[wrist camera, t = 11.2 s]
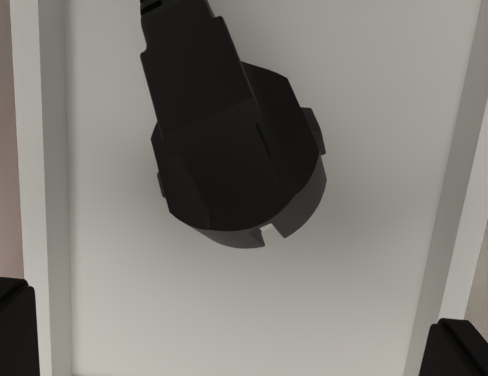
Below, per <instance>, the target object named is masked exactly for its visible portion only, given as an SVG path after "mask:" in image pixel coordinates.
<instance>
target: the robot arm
mask: <svg viewBox="0 0 488 376" xmlns="http://www.w3.org/2000/svg"><path fill="white" fill-rule="evenodd" d="M0 376H40V364H39V348H38V331H37V315H36V299H35V290H34V288H33V287H32V286H29V284H28V282H27V281H26V280H25V279H16V278H6V277H0ZM418 376H488V343H487V342H486V340H485V339H484V338H483V337H482V336H481V334H480V333H479V332H478V331H477V330H476V328H475V327H474V326H473V325H472V324H471V323H470V322H469V321H468V320H460V319H449V318H441V319H439V321H438V322H437V324H435V323H434V324H432V325H431V326H430V329H429V333H428V337H427V341H426V346H425V350H424V354H423V358H422V363H421V367H420V371H419V375H418Z"/></svg>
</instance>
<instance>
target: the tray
mask: <svg viewBox="0 0 488 376" xmlns="http://www.w3.org/2000/svg"><path fill="white" fill-rule="evenodd" d="M208 2H209V5H210V7H211V9H212V11H213V13H214V15H215V17H218V16H222V17H223V18H224V20H225V23H226V25H227V28H228V30H229V33H230V35H231V38H232V40H233V43H234V45H235V48H236V50H237V53H238V56H239V58H240V61H243V62H245V63H248V64H252V65H255V66H259V67H262V68H265V69H268V70H271V71H274V72H276V73H278V74H280V75H283V76H284V77H286V78H288V80H289V83H290V85H291V87H292V89H293V92H294V94H295V96H296V98H297V101H298V103H299V105H300V107H307V108H311V109H312V110H313V113H314V115H315V117H316V119H317V121H318V124H319V126H320V128H321V131H322V136H323V140H324V145H325V150H326V154H324V155H322V156H321V158H322V162H323V166H324V170H325V174H326V178H327V182H326V187H325V191H324V193H323V196H322V199H321V201H320V203H319V205H318V207H317V209H316V210H315V212H314V213H313V215H312V216H311V217H310V218H309V220H308V221H307V222H306V223H305V224H304V225H303V226H302V227H301V228H300V229H298V230H297V231H296V232H295V233H293V234H292V235H290V236H288V237H287V238H283V237H282V236H281V234H280V233H279V232H278V231H277V230H276V229H275V227H272V228H270V229H267V230H265V231H262V232H261V234H262V237H263V240H264V243H265V246H264V247H259V248H250V249H241V248H233V247H228V246H225V245H222V244H219V243H217V242H215V241H213V240H211V239H209V238H208V237H206V236H205V235H203V234H201V233H200V232H198V231H196V230H195V229H193V228H191V227H190V226H188V225H186V224H185V223H183V222H181V221H180V220H178V219H177V218H176V217H174V216H173V215H172V214H171V213H169V209H168V205H167V201H166V199H165V198H164V197H162V194H161V190H160V186H159V182H158V178H157V173H158V171H159V170H158V166H157V162H156V158H155V154H154V151H153V147H152V143H151V136H152V133H153V130H154V128H155V125H156V123H157V118H156V114H155V110H154V107H153V103H152V99H151V96H150V92H149V88H148V85H147V81H146V77H145V74H144V70H143V67H142V63H141V59H140V54H141V53H142V52H144V51H145V50H146V41H145V38H144V34H143V31H142V27H141V14H140V5H141V3H140V0H10V14H11V33H12V52H13V71H14V90H15V109H16V128H17V147H18V166H19V185H20V204H21V223H22V242H23V261H24V279H25V280H26V281H27V282H28V284H29V286H32V287H33V288H34V290H35V299H36V315H37V331H38V348H39V364H40V376H418V375H419V371H420V367H421V363H422V358H423V354H424V350H425V346H426V341H427V337H428V333H429V329H430V326H431V325H432V324H434V323H435V324H437V322H438V321H439V319H441V318H449V319H460V320H463V319H464V315H465V311H466V307H467V303H468V299H469V294H470V290H471V286H472V282H473V278H474V274H475V269H476V265H477V261H478V257H479V253H480V249H481V245H482V240H483V236H484V232H485V228H486V224H487V220H488V0H208Z"/></svg>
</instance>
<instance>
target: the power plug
mask: <svg viewBox="0 0 488 376" xmlns="http://www.w3.org/2000/svg"><path fill="white" fill-rule="evenodd" d="M140 3H141V5H140V14H141V27H142V31H143V34H144V38H145V41H146V50H145V51H144V52H142V53H141V54H140V59H141V63H142V67H143V70H144V74H145V77H146V81H147V85H148V88H149V92H150V96H151V99H152V103H153V107H154V110H155V114H156V118H157V123H156V125H155V128H154V130H153V133H152V136H151V143H152V147H153V151H154V154H155V158H156V162H157V166H158V170H159V171H158V173H157V178H158V182H159V186H160V190H161V194H162V197H164V198H165V199H166V201H167V205H168V209H169V213H171V214H172V215H173V216H174V217H176V218H177V219H178V220H180V221H181V222H183V223H185V224H186V225H188V226H190V227H191V228H193V229H195V230H196V231H198V232H200V233H201V234H203V235H205V236H206V237H208V238H209V239H211V240H213V241H215V242H217V243H219V244H222V245H225V246H228V247H233V248H241V249H250V248H259V247H264V246H265V243H264V240H263V237H262V234H261V232H262V231H265V230H267V229H270V228H272V227H275V229H276V230H277V231H278V232H279V233H280V234H281V236H282V237H283V238H287V237H288V236H290V235H292V234H293V233H295V232H296V231H297V230H298V229H300V228H301V227H302V226H303V225H304V224H305V223H306V222H307V221H308V220H309V218H310V217H311V216H312V215H313V213H314V212H315V210H316V209H317V207H318V205H319V203H320V201H321V199H322V196H323V193H324V191H325V187H326V182H327V178H326V174H325V170H324V166H323V162H322V158H321V156H322V155H324V154H326V150H325V145H324V140H323V136H322V131H321V128H320V126H319V124H318V121H317V119H316V117H315V115H314V113H313V110H312V109H311V108H307V107H300V105H299V103H298V101H297V98H296V96H295V94H294V92H293V89H292V87H291V85H290V83H289V80H288V78H286V77H284V76H283V75H280V74H278V73H276V72H274V71H271V70H268V69H265V68H262V67H259V66H255V65H252V64H248V63H245V62H243V61H240V58H239V56H238V53H237V50H236V48H235V45H234V43H233V40H232V38H231V35H230V33H229V30H228V28H227V25H226V23H225V20H224V18H223V17H222V16H218V17H215V15H214V13H213V11H212V9H211V7H210V5H209V2H208V0H140Z"/></svg>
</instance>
